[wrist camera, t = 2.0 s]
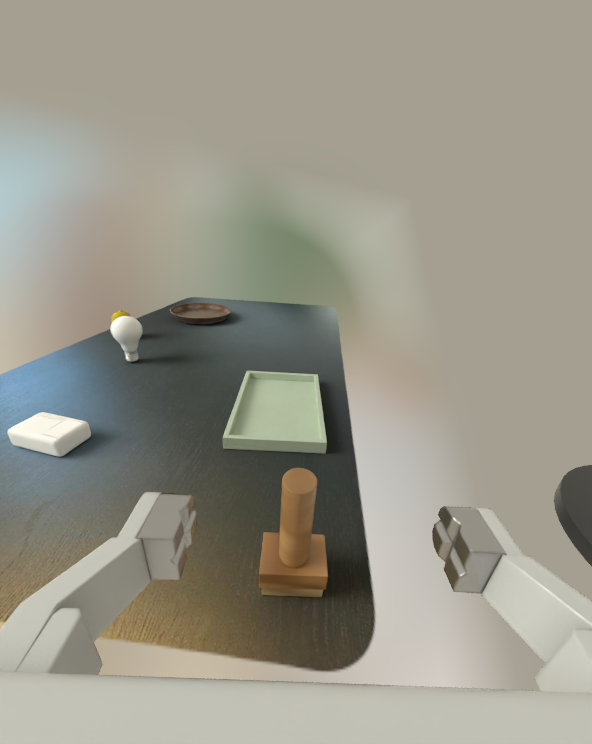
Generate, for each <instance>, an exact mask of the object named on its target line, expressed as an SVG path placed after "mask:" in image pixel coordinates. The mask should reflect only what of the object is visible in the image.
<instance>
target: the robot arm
mask: <svg viewBox="0 0 592 744" xmlns="http://www.w3.org/2000/svg"><path fill="white" fill-rule="evenodd" d="M194 505H195V498H194V495H187V494H174V493H157V492H146V493H145V494H143V495H142V497H141V498H140V500H139V502H138V503H137V505H136V507H135V508H134V510H133V512H132V513H131V515H130V517H129V518H128V520H127V522H126V524H125V525H124V527H123V529H122V530H121V532H120V534H119V535H118V537H117V538H111V539H109V540H108V541H107V542H105V543H104V544H102V545H101V546H100V547H98V548H97V549H96V550H94V551H93V552H91V553H90V554H89V555H87V556H86V557H84V558H83V559H82V560H80V561H79V562H77V563H76V564H75V565H73V566H72V567H71V568H69V569H68V570H66V571H65V572H64V573H62V574H61V575H59V576H58V577H57V578H55V579H54V580H52V581H51V582H50V583H48V584H47V585H45V586H44V587H43V588H41V589H40V590H39V591H37V592H36V593H34V594H33V595H32V596H30V597H29V598H27V599H26V600H25V601H23V602H22V603H20V604H19V606H18V607H17V608H16V610H15V611H14V612H13V614H12V615H11V616H10V618H9V619H8V620H7V622H6V623H5V624H4V626H3V627H2V628H1V630H0V744H592V601H590V600H589V599H588V598H586V597H585V596H584V595H582V594H581V593H580V592H578V591H577V590H575V589H574V588H573V587H571V586H570V585H569V584H567V583H566V582H564V581H563V580H562V579H560V578H559V577H558V576H556V575H555V574H553V573H552V572H551V571H549V570H548V569H546V568H545V567H544V566H542V565H541V564H539V563H538V562H537V561H536V560H534V559H533V558H531V557H530V556H525V555H524V554H523V552H522V551H521V550H520V548H519V547H518V545H517V544H516V543H515V541H514V540H513V538H512V537H511V535H510V534H509V533H508V531H507V530H506V528H505V527H504V526H503V524H502V523H501V521H500V520H499V518H498V517H497V516H496V514H495V513H494V512H493V511H492V510H491V509H489V508H471V507H442V508H441V509H440V511H439V514H438V515H439V517H440V519H441V520H439V521H438V522H437V523H436V524H435V525H434V528H433V543H434V547H435V549H436V552H437V554H438V556H439V557H441V558H442V559H443V560H444V561H445V562H446V563H445V567H444V571H445V573H446V575H447V577H448V579H449V582H450V584H451V587H452V589H453V591H454V592H466V593H481V594H482V596H483V597H484V598H485V600H486V601H487V602H488V603H489V604H490V605H491V606H492V607H493V608H494V609H495V610H496V611H497V612H498V613H499V614H500V616H501V617H502V618H503V619H504V620H505V621H506V622H507V623H508V624H509V625H510V626H511V627H512V628H513V629H514V631H516V632H517V634H518V635H519V636H520V637H521V638H522V639H523V640H524V641H525V642H526V643H527V644H528V645H529V647H530V648H531V649H532V650H533V651H534V652H535V653H536V654H537V655H538V656H539V657H540V658H541V659H542V660H543V661H544V662H545V665H544V666H543V667H542V669H541V670H540V671H539V672H538V674H537V675H536V679H535V682H536V683H537V685H538V687H539V689H540V691H533V690H532V691H530V690H505V689H478V688H450V687H423V686H393V685H392V686H391V685H367V684H339V683H313V682H284V681H255V680H228V679H201V678H200V679H199V678H173V677H144V676H117V675H115V676H114V675H98V673H99V672H100V669H101V667H102V662H101V658H100V656H99V654H98V652H97V649H96V647H95V645H94V641H95V640H96V639H97V638H98V637H99V636H100V635H101V634H102V633H103V632H104V631H105V630H106V629H107V628H108V627H109V625H110V624H111V623H112V622H113V621H114V620H115V619H116V618H117V617H118V616H119V615H120V614H121V613H122V612H123V611H124V610H125V608H126V607H127V606H128V605H129V604H130V603H131V602H132V601H133V600H134V599H135V598H136V597H137V596H138V595H139V594H140V592H141V591H142V590H143V589H144V588H145V587H146V586H147V585H148V584H149V583H150V582H151V580H180V577H181V574H182V572H183V569H184V566H185V563H186V560H187V553H186V549H187V548H188V547H189V546H190V545H191V544H192V542H193V539H194V536H195V531H196V526H197V514H196V512H195V511H194V510H193V508H194Z"/></svg>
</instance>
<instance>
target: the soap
mask: <svg viewBox="0 0 592 744" xmlns="http://www.w3.org/2000/svg"><path fill="white" fill-rule="evenodd" d="M8 435H9V437H10V440H11V442H12V444H13V445H15V446H19V447H23V448H27V449H30V450H34V451H38V452H42V453H46V454H50V455H54V456H58V457H61V456H64V455H65V454H67V453H68V452H70V451H71V450H72V449H74V448H75V447H77V446H78V445H80V444H81V443H82V442H84V441H85V440H87V439H88V438H89V437H90V436H91V432H90V428H89V425H88V423H87V422H85V421H81V420H77V419H72V418H68V417H63V416H59V415H54V414H50V413H45V412H41V413H38V414H37V415H35V416H33V417H31V418H29V419H27V420H25V421H23V422H21V423H19V424H17V425H15V426H13V427H12V428H10V429H9V430H8Z"/></svg>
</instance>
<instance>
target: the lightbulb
mask: <svg viewBox="0 0 592 744" xmlns="http://www.w3.org/2000/svg"><path fill="white" fill-rule="evenodd" d="M111 334H112V336H113V337H114V338H115V340H116V341H118V342H119V343H120V345H121V347H122V349H123V350H124V352H125V357H126V360H127V361H129V362H135V361H136V360H138V359H139V358H138V352H137V348H138V342H139V340H140V338H141V336H142V326H141V324H140V322H139V321H138V320H136V319H135V318H133V317H130V316H121V317H118V318H116V319H115V320H114V321H113V322H112V324H111Z"/></svg>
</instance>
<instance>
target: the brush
mask: <svg viewBox="0 0 592 744" xmlns="http://www.w3.org/2000/svg"><path fill="white" fill-rule="evenodd" d="M316 489H317V479H316V477H315V475H314V474H313V473H312V472H311V471H309V470H307V469H303V468H294V469H291V470H289V471H287V472H286V473H285V474H284V476H283V479H282V498H281V519H280V533H267V532H264V535H263V544H262V553H261V562H260V571H259V587H262V592H261V594H262V595H276V596H302V597H322V594H323V590H326V586H327V579H328V570H327V559H326V547H325V536H324V535H313V534H311V533H312V524H313V516H314V507H315V498H316Z"/></svg>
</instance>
